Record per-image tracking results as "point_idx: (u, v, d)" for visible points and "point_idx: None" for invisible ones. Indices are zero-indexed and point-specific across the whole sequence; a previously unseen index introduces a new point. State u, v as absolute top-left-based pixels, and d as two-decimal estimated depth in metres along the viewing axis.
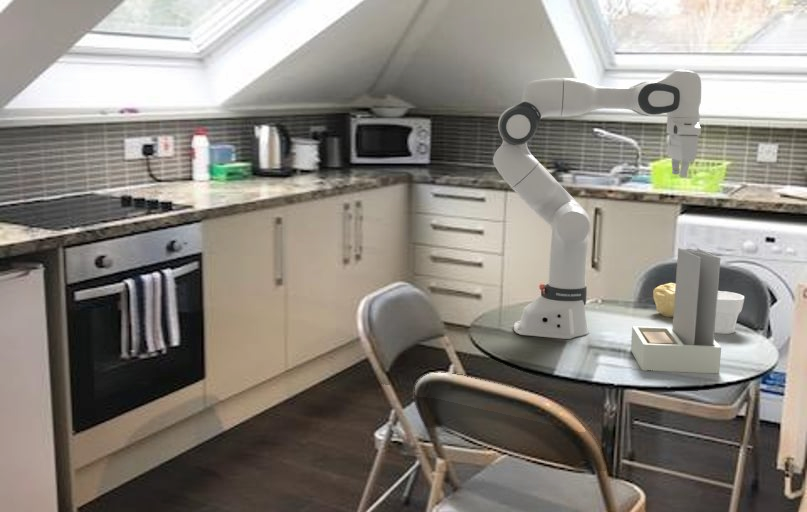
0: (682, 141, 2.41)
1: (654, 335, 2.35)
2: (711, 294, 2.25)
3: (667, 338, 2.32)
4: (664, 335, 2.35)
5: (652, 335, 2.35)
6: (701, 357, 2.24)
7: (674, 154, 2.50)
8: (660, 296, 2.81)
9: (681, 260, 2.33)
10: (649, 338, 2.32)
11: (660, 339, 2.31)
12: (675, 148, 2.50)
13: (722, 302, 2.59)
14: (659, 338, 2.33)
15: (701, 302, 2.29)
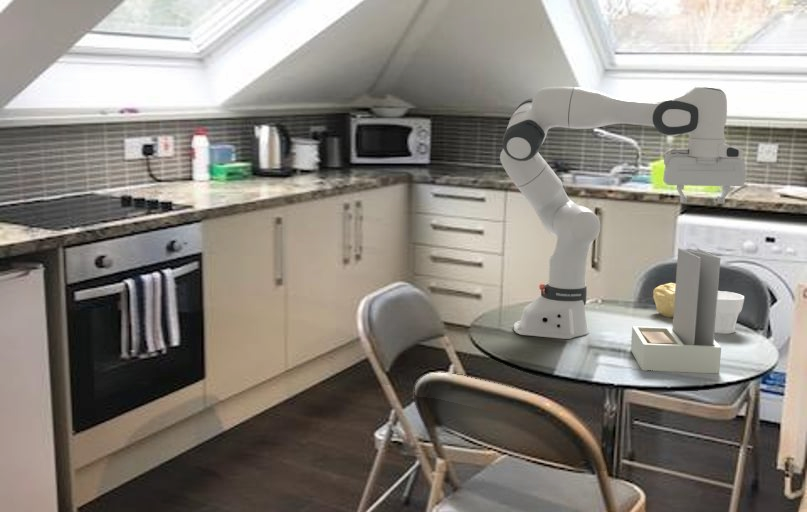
0: (744, 164, 2.21)
1: (653, 335, 2.35)
2: (711, 294, 2.25)
3: (666, 338, 2.33)
4: (663, 335, 2.35)
5: (651, 335, 2.35)
6: (701, 357, 2.24)
7: (705, 180, 2.23)
8: (660, 296, 2.81)
9: (681, 260, 2.33)
10: (649, 338, 2.32)
11: (659, 339, 2.31)
12: (708, 173, 2.23)
13: (722, 302, 2.59)
14: (658, 338, 2.33)
15: (701, 302, 2.29)
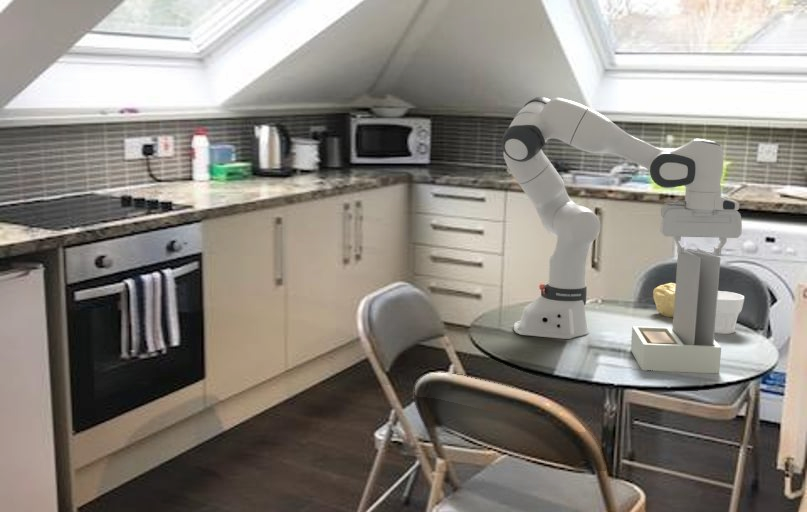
0: (740, 216, 2.24)
1: (655, 335, 2.35)
2: (711, 294, 2.25)
3: (668, 338, 2.32)
4: (665, 335, 2.35)
5: (653, 335, 2.35)
6: (701, 357, 2.24)
7: (702, 231, 2.26)
8: (660, 296, 2.81)
9: (681, 260, 2.33)
10: (650, 338, 2.32)
11: (660, 339, 2.31)
12: (705, 225, 2.25)
13: (722, 302, 2.59)
14: (660, 338, 2.33)
15: (701, 302, 2.29)
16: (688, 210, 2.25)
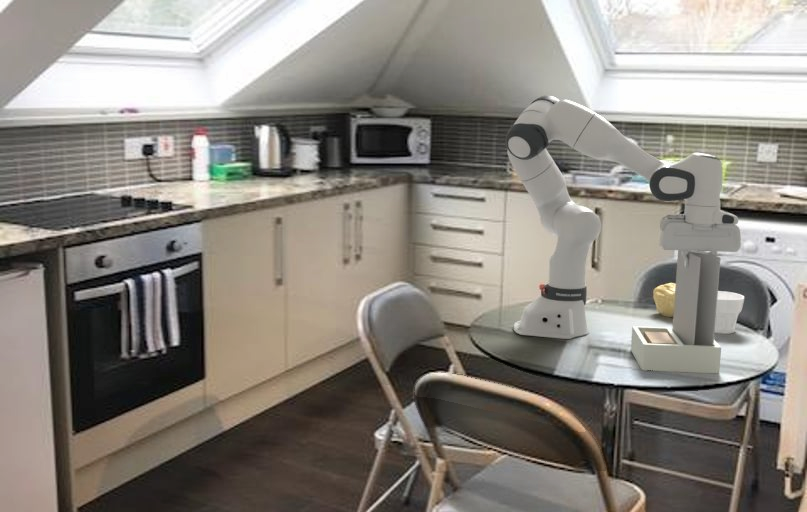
0: (739, 230, 2.25)
1: (656, 335, 2.35)
2: (711, 294, 2.25)
3: (669, 338, 2.32)
4: (666, 335, 2.35)
5: (654, 335, 2.35)
6: (701, 357, 2.24)
7: (701, 245, 2.26)
8: (660, 296, 2.81)
9: (681, 260, 2.33)
10: (651, 338, 2.32)
11: (661, 339, 2.31)
12: (704, 239, 2.26)
13: (722, 302, 2.59)
14: (661, 338, 2.33)
15: (701, 302, 2.29)
16: (687, 224, 2.26)
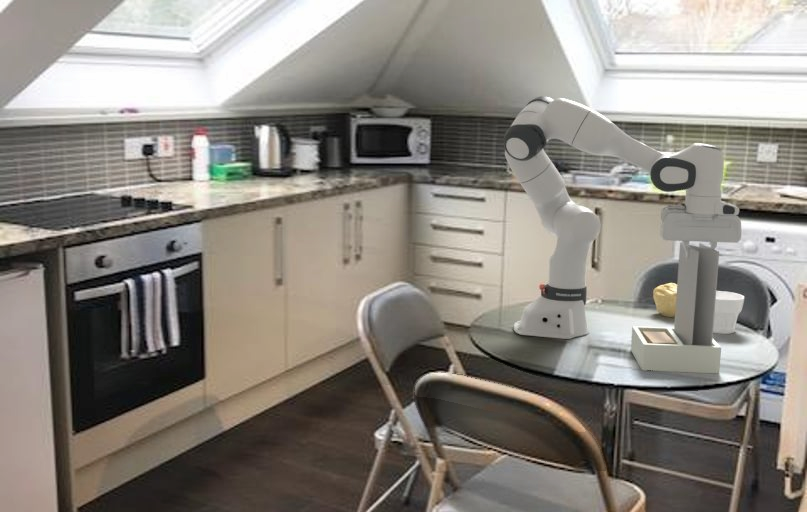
0: (740, 221, 2.24)
1: (655, 335, 2.35)
2: (710, 288, 2.25)
3: (668, 338, 2.33)
4: (665, 335, 2.36)
5: (653, 335, 2.35)
6: (701, 357, 2.24)
7: (702, 236, 2.26)
8: (660, 296, 2.81)
9: (682, 254, 2.33)
10: (651, 338, 2.32)
11: (661, 339, 2.31)
12: (705, 229, 2.26)
13: (722, 302, 2.59)
14: (660, 338, 2.33)
15: (701, 296, 2.28)
16: (688, 214, 2.25)
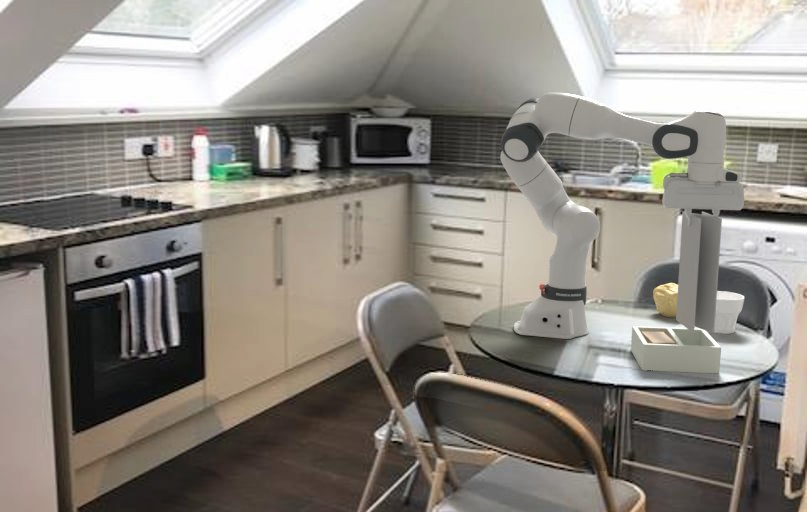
0: None
1: (654, 335, 2.36)
2: (713, 256, 2.23)
3: (667, 338, 2.33)
4: (664, 335, 2.36)
5: (652, 335, 2.35)
6: (701, 357, 2.24)
7: (704, 203, 2.24)
8: (660, 296, 2.81)
9: (685, 223, 2.31)
10: (650, 338, 2.32)
11: (661, 339, 2.31)
12: (707, 197, 2.24)
13: (722, 302, 2.59)
14: (660, 337, 2.33)
15: (704, 265, 2.27)
16: (690, 182, 2.24)
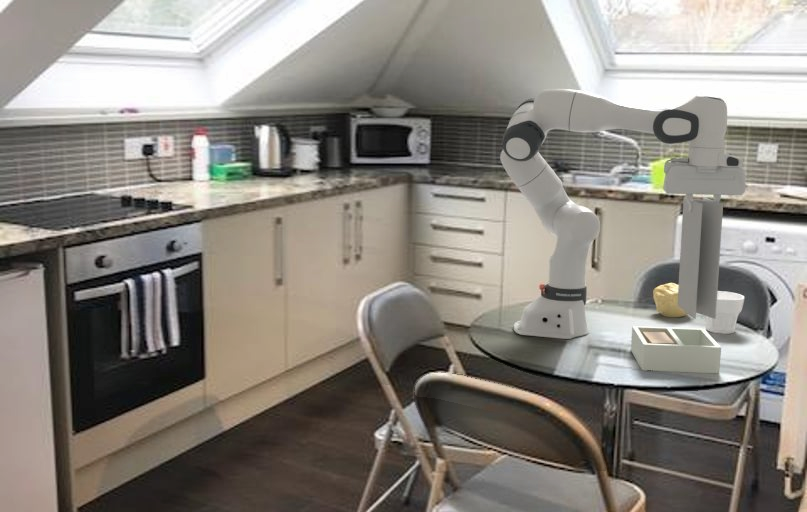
0: (744, 173, 2.22)
1: (654, 335, 2.35)
2: (714, 241, 2.22)
3: (668, 338, 2.32)
4: (664, 335, 2.35)
5: (652, 335, 2.35)
6: (701, 357, 2.24)
7: (705, 189, 2.24)
8: (660, 296, 2.81)
9: (686, 209, 2.31)
10: (650, 338, 2.32)
11: (660, 339, 2.31)
12: (708, 182, 2.23)
13: (722, 302, 2.59)
14: (660, 338, 2.33)
15: (705, 250, 2.26)
16: (691, 167, 2.23)
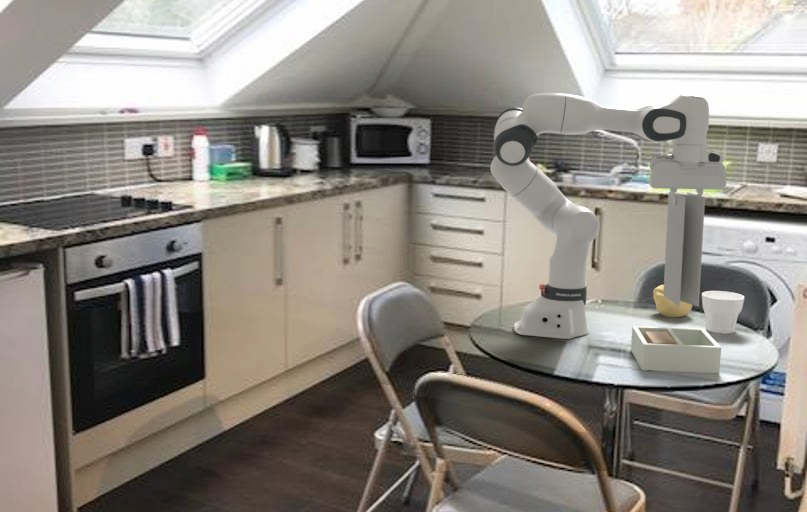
0: (725, 169, 2.35)
1: (657, 335, 2.35)
2: (697, 233, 2.35)
3: (670, 338, 2.32)
4: (667, 335, 2.35)
5: (655, 335, 2.35)
6: (701, 357, 2.24)
7: (689, 183, 2.36)
8: (660, 296, 2.81)
9: (671, 203, 2.44)
10: (652, 338, 2.32)
11: (662, 339, 2.31)
12: (691, 177, 2.36)
13: (722, 302, 2.59)
14: (662, 338, 2.32)
15: (689, 242, 2.39)
16: (675, 163, 2.36)
